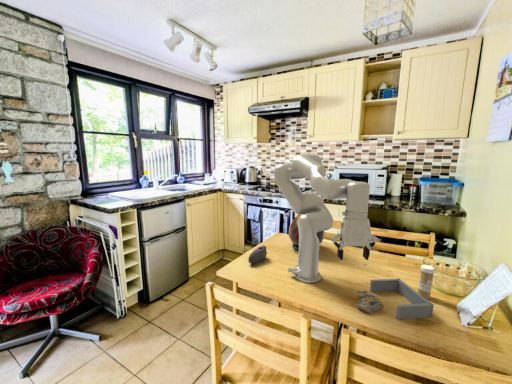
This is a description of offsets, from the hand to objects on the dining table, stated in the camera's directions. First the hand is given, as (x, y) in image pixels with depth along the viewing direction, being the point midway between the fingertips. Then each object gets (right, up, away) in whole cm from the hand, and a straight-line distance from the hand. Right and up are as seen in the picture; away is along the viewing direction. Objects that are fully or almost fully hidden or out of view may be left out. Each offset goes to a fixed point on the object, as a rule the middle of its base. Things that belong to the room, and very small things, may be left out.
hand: (352, 258), depth 91 cm
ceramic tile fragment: (+8, -20, +4) cm, 22 cm away
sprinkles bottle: (+34, -19, +9) cm, 40 cm away
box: (+20, -19, +5) cm, 28 cm away
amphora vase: (-6, -10, +58) cm, 59 cm away
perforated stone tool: (-36, -13, +40) cm, 56 cm away
